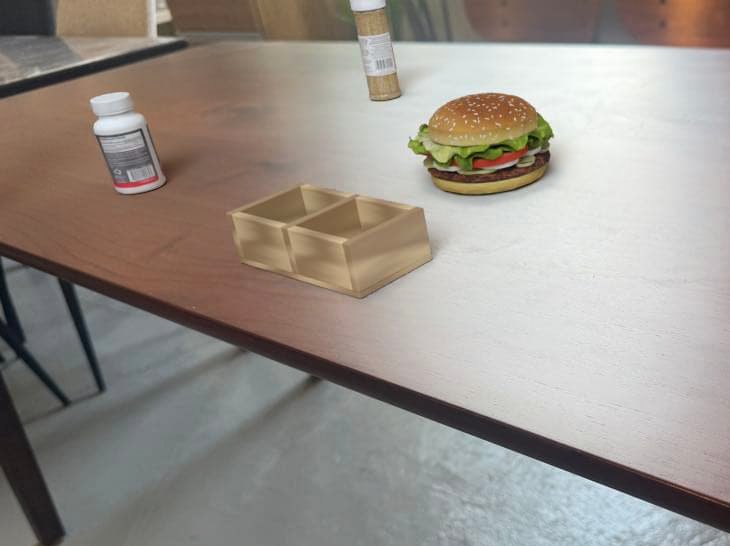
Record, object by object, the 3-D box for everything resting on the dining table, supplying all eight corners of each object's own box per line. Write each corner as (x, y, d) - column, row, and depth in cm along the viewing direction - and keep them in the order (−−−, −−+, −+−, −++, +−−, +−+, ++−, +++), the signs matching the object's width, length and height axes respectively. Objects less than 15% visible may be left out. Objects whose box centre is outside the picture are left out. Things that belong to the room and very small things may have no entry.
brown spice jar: (400, 91, 123) (382, -13, 115) (402, 98, 119) (384, -8, 112) (368, 95, 122) (347, -8, 115) (369, 103, 118) (349, -4, 111)
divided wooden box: (240, 262, 75) (225, 213, 72) (312, 229, 80) (300, 182, 77) (360, 299, 66) (348, 244, 64) (432, 259, 71) (423, 207, 69)
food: (402, 174, 91) (388, 96, 87) (525, 148, 95) (517, 72, 90) (438, 213, 80) (424, 127, 76) (575, 182, 84) (570, 98, 80)
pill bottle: (128, 180, 98) (96, 92, 93) (174, 176, 98) (144, 88, 92) (108, 197, 94) (73, 105, 88) (156, 193, 93) (124, 100, 88)
